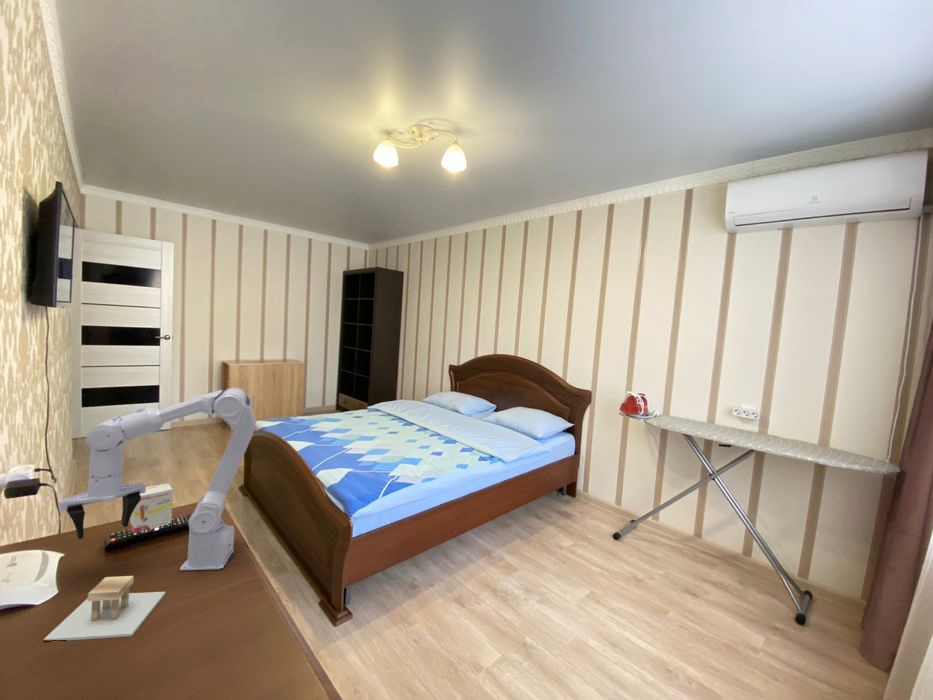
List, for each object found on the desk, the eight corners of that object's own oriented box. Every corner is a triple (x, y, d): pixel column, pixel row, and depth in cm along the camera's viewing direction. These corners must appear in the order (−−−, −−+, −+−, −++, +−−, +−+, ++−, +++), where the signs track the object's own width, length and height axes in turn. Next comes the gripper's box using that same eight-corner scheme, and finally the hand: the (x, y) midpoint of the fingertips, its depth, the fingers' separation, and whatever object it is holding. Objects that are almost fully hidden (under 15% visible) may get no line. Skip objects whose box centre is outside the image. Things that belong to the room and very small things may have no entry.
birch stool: (104, 604, 81) (105, 577, 81) (132, 603, 82) (133, 575, 82) (86, 623, 76) (88, 593, 76) (116, 621, 77) (118, 591, 77)
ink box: (133, 538, 105) (135, 496, 104) (128, 531, 108) (131, 490, 108) (171, 528, 112) (174, 488, 111) (166, 521, 115) (169, 482, 114)
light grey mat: (165, 593, 86) (165, 591, 86) (131, 636, 75) (131, 633, 75) (90, 597, 83) (91, 595, 83) (43, 642, 72) (43, 639, 72)
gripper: (64, 487, 81) (61, 550, 82) (151, 470, 93) (147, 526, 93) (58, 477, 85) (55, 537, 86) (141, 462, 97) (138, 515, 98)
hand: (103, 530), depth 90 cm, fingers open, 7 cm apart
